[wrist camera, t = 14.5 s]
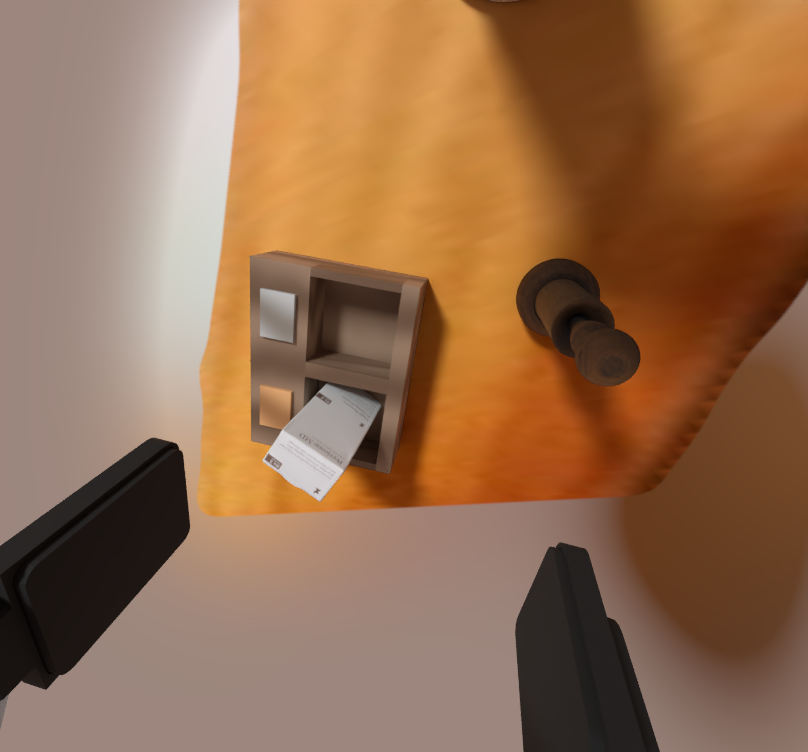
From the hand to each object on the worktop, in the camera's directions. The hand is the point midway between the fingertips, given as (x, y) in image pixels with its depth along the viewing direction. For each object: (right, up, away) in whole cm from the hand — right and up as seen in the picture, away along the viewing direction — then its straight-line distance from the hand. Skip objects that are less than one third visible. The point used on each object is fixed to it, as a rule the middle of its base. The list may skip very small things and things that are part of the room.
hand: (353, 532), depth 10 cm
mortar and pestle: (+15, +11, +26) cm, 32 cm away
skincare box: (-5, +1, +33) cm, 33 cm away
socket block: (-5, +6, +32) cm, 33 cm away
